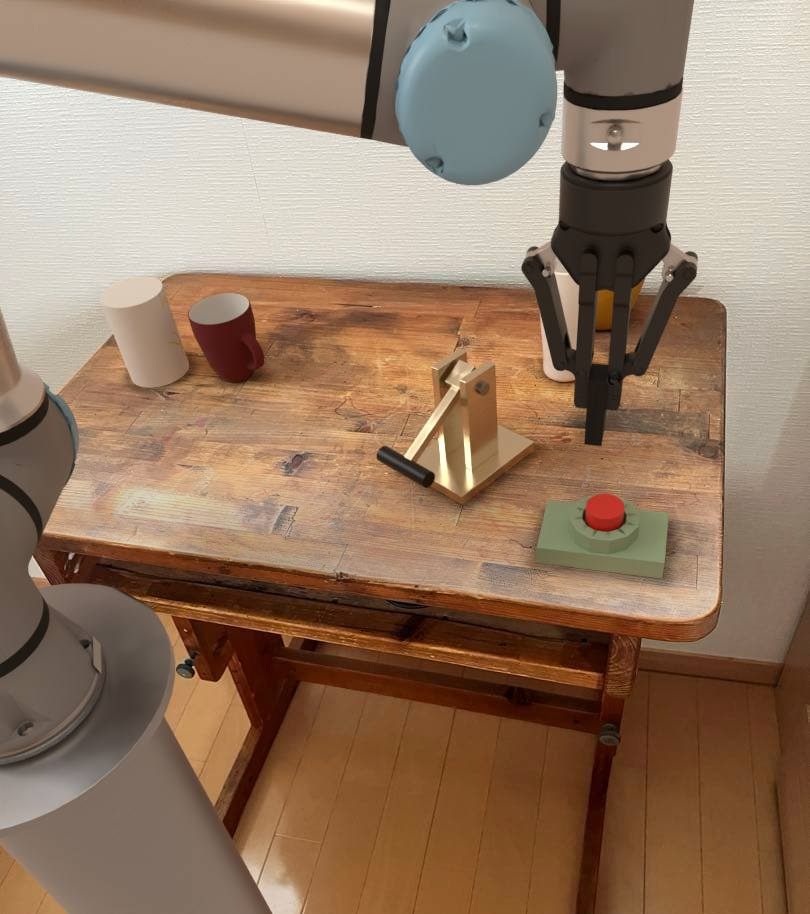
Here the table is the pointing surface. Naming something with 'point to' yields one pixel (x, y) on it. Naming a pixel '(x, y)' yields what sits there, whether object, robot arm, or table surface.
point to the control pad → (603, 540)
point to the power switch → (470, 434)
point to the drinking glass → (570, 309)
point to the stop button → (604, 512)
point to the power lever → (426, 433)
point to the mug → (227, 335)
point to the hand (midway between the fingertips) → (594, 435)
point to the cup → (145, 331)
